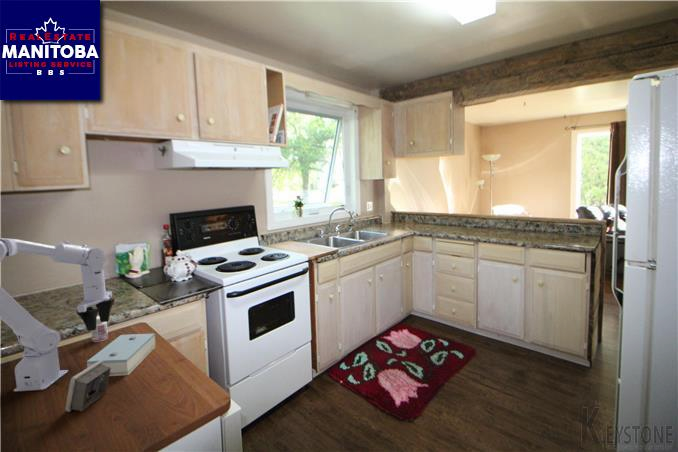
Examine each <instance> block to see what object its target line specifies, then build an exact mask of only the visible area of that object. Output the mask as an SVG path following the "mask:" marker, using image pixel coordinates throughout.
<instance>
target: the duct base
mask: <svg viewBox="0 0 678 452" xmlns="http://www.w3.org/2000/svg"><path fill="white" fill-rule="evenodd" d="M156 347H157V346H156V335H155V336H154V337H153V338H152V339H151V340H150V341H149V342H148V343H146V344H145V345H144V346H143V347H142V348H141V349H140V350H139V351H138V352H137V353H136V354H135V355H134V356H133V357H132V358H131V359H130V360H129V361H128V362H119V363H103V365H105V366H107V367H110V368H111V369H110V374H109V377H116V376H117V377H118V376H128V375H130V374H131V373H132V372H133V371H134V370H135V369H136V368H137V367H138V365H140V363H142V362H143V361H144V359H145V358H146V357H147V356H149V355H150V353H151V352H152V351H154V349H155V348H156ZM91 365H93V364H87V363H86V366H87V368H88V367H90V366H91ZM87 368H86V369H87ZM103 376H104V375H103Z"/></svg>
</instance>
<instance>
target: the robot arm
mask: <svg viewBox="0 0 678 452" xmlns="http://www.w3.org/2000/svg"><path fill="white" fill-rule="evenodd" d="M17 254H26V255H28V254H29V255H33V256H34V255H35V256H42V257H43V256H44V257H45V256H46V257H49V258H50V259H51V260H52V261H53V262H55V263H64V264H72V265H80V270H81V279H82V289H83V301H81V303H80V304H79V305H77V306H76V307H77V310H76V315H78V316H79V317H80V319H81V320H82V322H83V323H84V326H85V327H86V330H87V331H90V332H92V331H91V330H96V319H97V316H99V317H100V321H101V322H107V323H108V322H109V320H110V315H111V309H112V306H113V304H114V303H115V298H112V297H113V293H112V292H113V291H112V290H111V291H110V290H108V291H106V290H107V289H106V280H105V271H104V269H105V268H104V267H105V266H104V265H105V263H106V260H107V255H105V254H106V253H105V252H104V250H102V249H101V248H98V247H96V248H95V247H89V246H88V245H86V244H82V245H78V244H72V242H71V241H65V240H64V241H63V242H60V241H59V242H57V243H55V244H53V245H50V244H44V243H39V242H33V241H28V240H23V239H16V238H9V237H8V238H3V237H0V263H1V262H2V261H3V260H4V259H5V257H9V258H10V257H12V256H15V255H17ZM94 306H95V307H96V308H94ZM0 320H1V321H2V322H4V324H6V325H7V326H8V327H9V328H10V329H12V332H13V334H14V335H16V337H17V340H18V341H17V342H18V344H19V345H20V346H22V347H24V349H23V357H22V358H21V360H20V361H19V362H18V363H17V364H16V365H15V367H14V376H15V384H16V388H14V389H13V392H26V391H27V392H28V391H43V390H46V389H47V388H48V387H50V386H51V385H52V384H54V383H56V382H57V381H58V380H59V379H60V378H62V377H63V376H64V375H66V374H67V373H68V372H69V370H68V369H63V370H62V369H61V368H60V361H59V360H60V359H59V352H58V351H59V350H58V346H59V344H60V342H61V334H60V332H58V330H55V329H51V328H49V327H47V326H46V325H45V324H43V323H42V322H40V321H39V320H37V319H36V318H35V317H34V316H33V315H31V313H29V312H28V310H26V309H25V308H24V307H23V306H22V305H21V304H20V303H19V302H18V301H17V300H15V299H14V298H13V297H12V295H11V294H9V293H8V292H7V291H6V290H5V288H3V287H2V286H1V285H0Z"/></svg>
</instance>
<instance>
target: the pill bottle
mask: <svg viewBox="0 0 678 452" xmlns="http://www.w3.org/2000/svg"><path fill="white" fill-rule="evenodd" d="M90 332H91V340H92V342H93V343H100V342H103V341H104V342H105V341H106V340H107V339H109V331H108V322H101V321H100V317H99V315H97V319H96V330H91V331H90Z"/></svg>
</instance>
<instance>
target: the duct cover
mask: <svg viewBox="0 0 678 452" xmlns="http://www.w3.org/2000/svg"><path fill="white" fill-rule="evenodd" d="M154 336H155V337H156V334H155V333H137V334H136V333H135V334H134V333H131V334H120V335H119V336H118V337H116V338H115V339H114V340H112V341H110V343H109V344H107V345H106V346H104V347H103V348H102V349H101V350H100V351H98V352H97V353H96V354H95V355H93V356H92V357H90V358H89V359H87V361H86V365H87V364H95V363H96V362H98V361H99V360H100V361H103V362H104V363H119V362H128V361H129V360H130V359H131V358H132V357H133V356H134V355H135V354H136V353H137V352H138V351H139V350H140V349H141V348H142V347H143V346H144V345H145V344H146V343H148V342H149V341H150V340H151V339H152V338H153V337H154Z"/></svg>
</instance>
